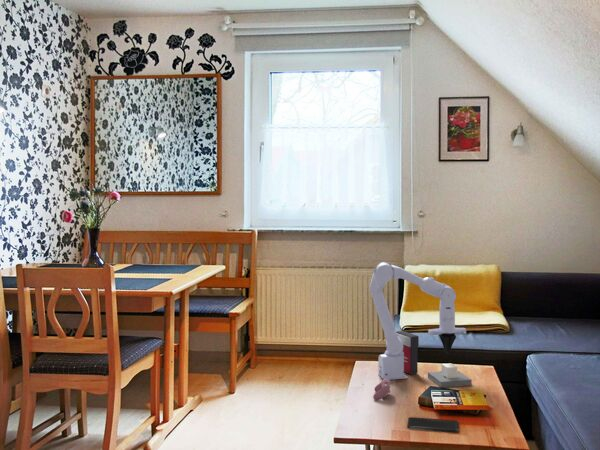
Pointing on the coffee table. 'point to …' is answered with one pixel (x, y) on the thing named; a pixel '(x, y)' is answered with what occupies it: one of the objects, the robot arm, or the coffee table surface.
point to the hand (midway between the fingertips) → (447, 353)
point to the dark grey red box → (409, 351)
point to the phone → (433, 424)
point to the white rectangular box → (449, 370)
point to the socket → (449, 379)
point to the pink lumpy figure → (382, 389)
